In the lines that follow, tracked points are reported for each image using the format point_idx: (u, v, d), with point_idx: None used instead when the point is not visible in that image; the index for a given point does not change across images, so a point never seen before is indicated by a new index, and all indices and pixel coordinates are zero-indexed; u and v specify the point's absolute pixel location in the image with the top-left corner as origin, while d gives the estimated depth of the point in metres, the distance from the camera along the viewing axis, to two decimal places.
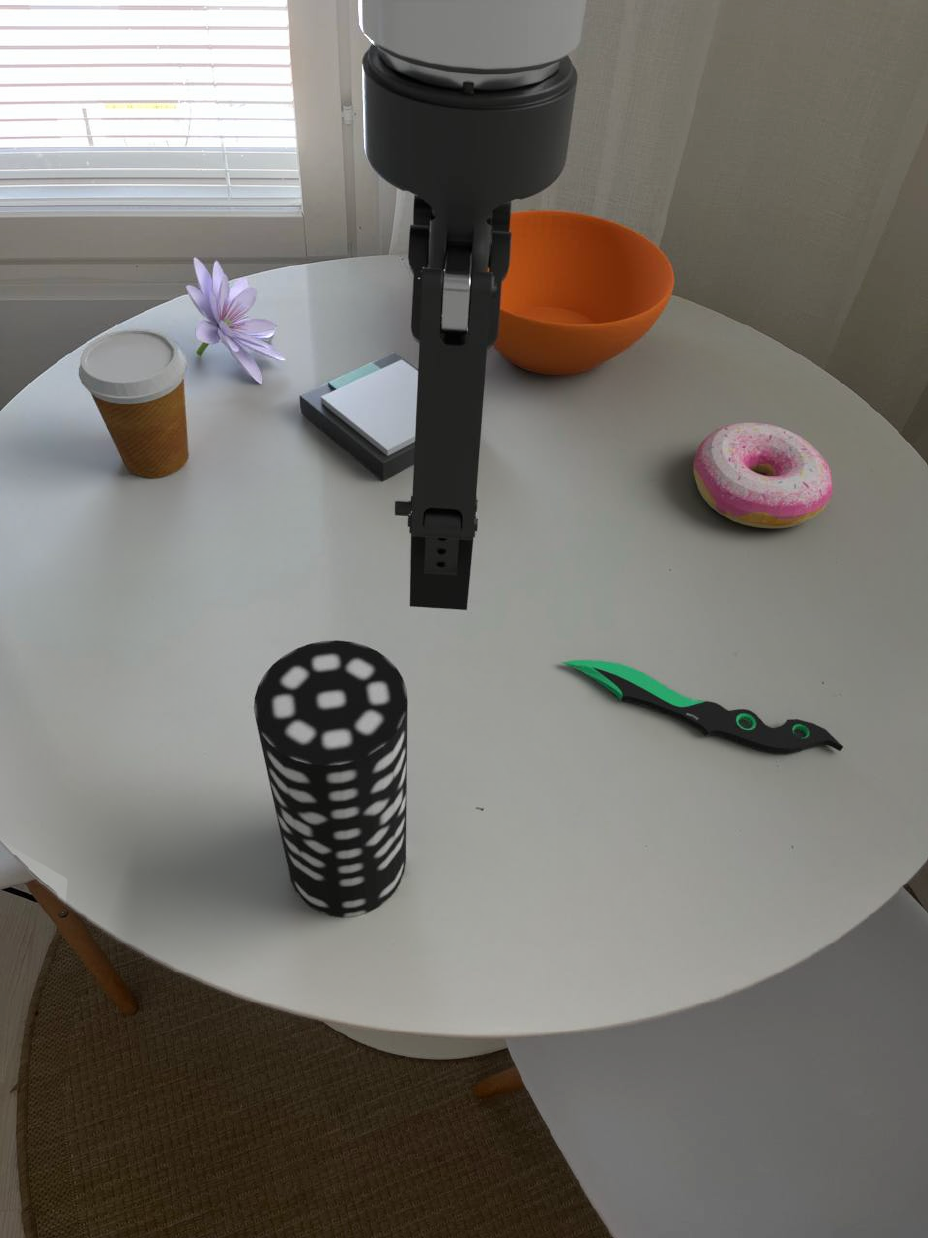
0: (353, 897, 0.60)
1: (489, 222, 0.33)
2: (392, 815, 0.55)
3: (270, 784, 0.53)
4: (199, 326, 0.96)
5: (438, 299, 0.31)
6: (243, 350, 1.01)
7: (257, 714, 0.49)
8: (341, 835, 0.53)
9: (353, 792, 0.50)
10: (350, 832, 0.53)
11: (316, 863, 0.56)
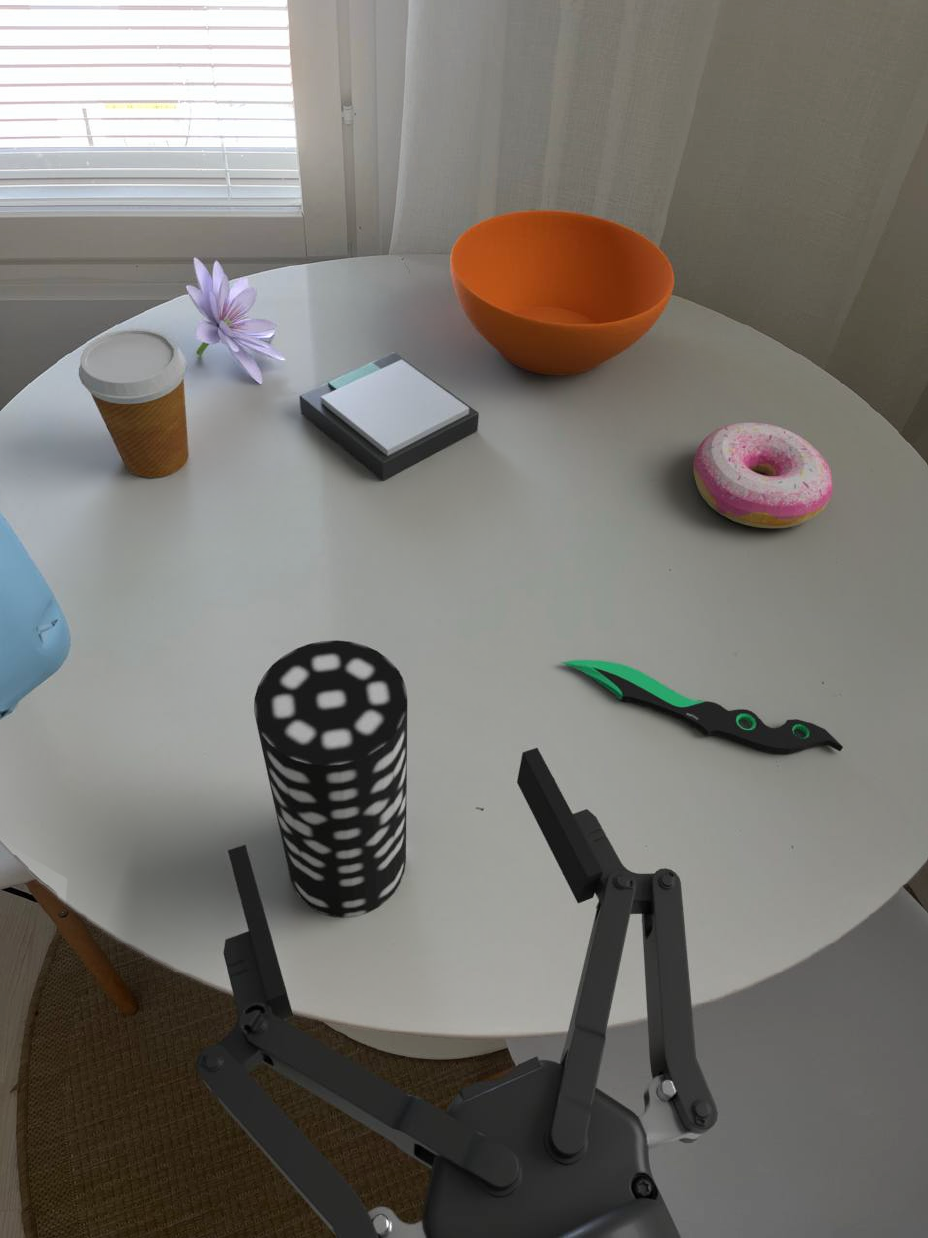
0: (353, 897, 0.60)
1: None
2: (392, 815, 0.55)
3: (270, 784, 0.53)
4: (199, 326, 0.96)
5: None
6: (243, 350, 1.01)
7: (257, 714, 0.49)
8: (341, 835, 0.53)
9: (353, 792, 0.50)
10: (350, 832, 0.53)
11: (316, 863, 0.56)
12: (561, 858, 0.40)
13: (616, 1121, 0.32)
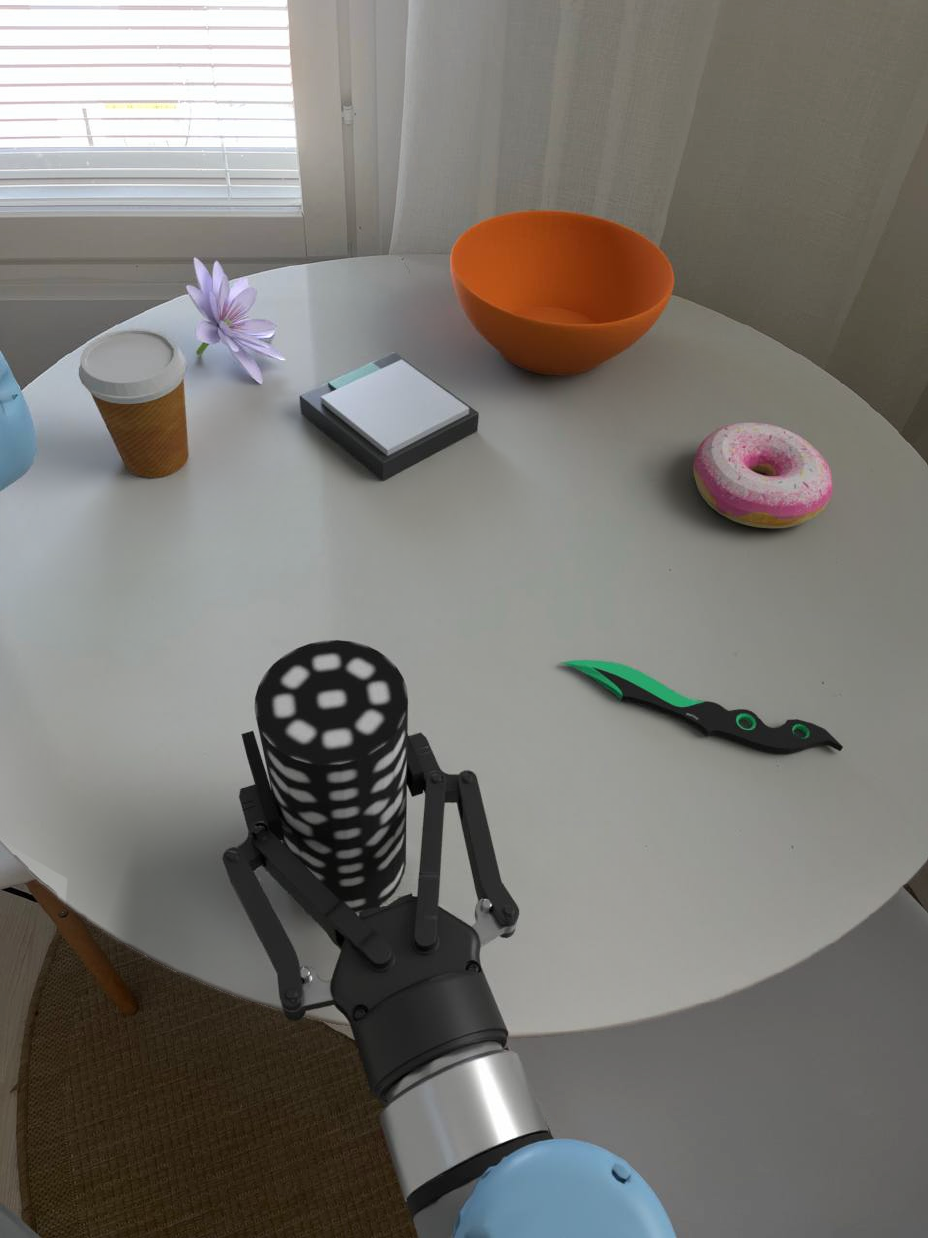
0: (353, 897, 0.60)
1: None
2: (392, 815, 0.55)
3: (270, 784, 0.53)
4: (199, 326, 0.96)
5: None
6: (243, 350, 1.01)
7: (257, 714, 0.49)
8: (341, 835, 0.53)
9: (354, 792, 0.50)
10: (350, 832, 0.53)
11: (316, 863, 0.56)
12: None
13: (457, 931, 0.50)
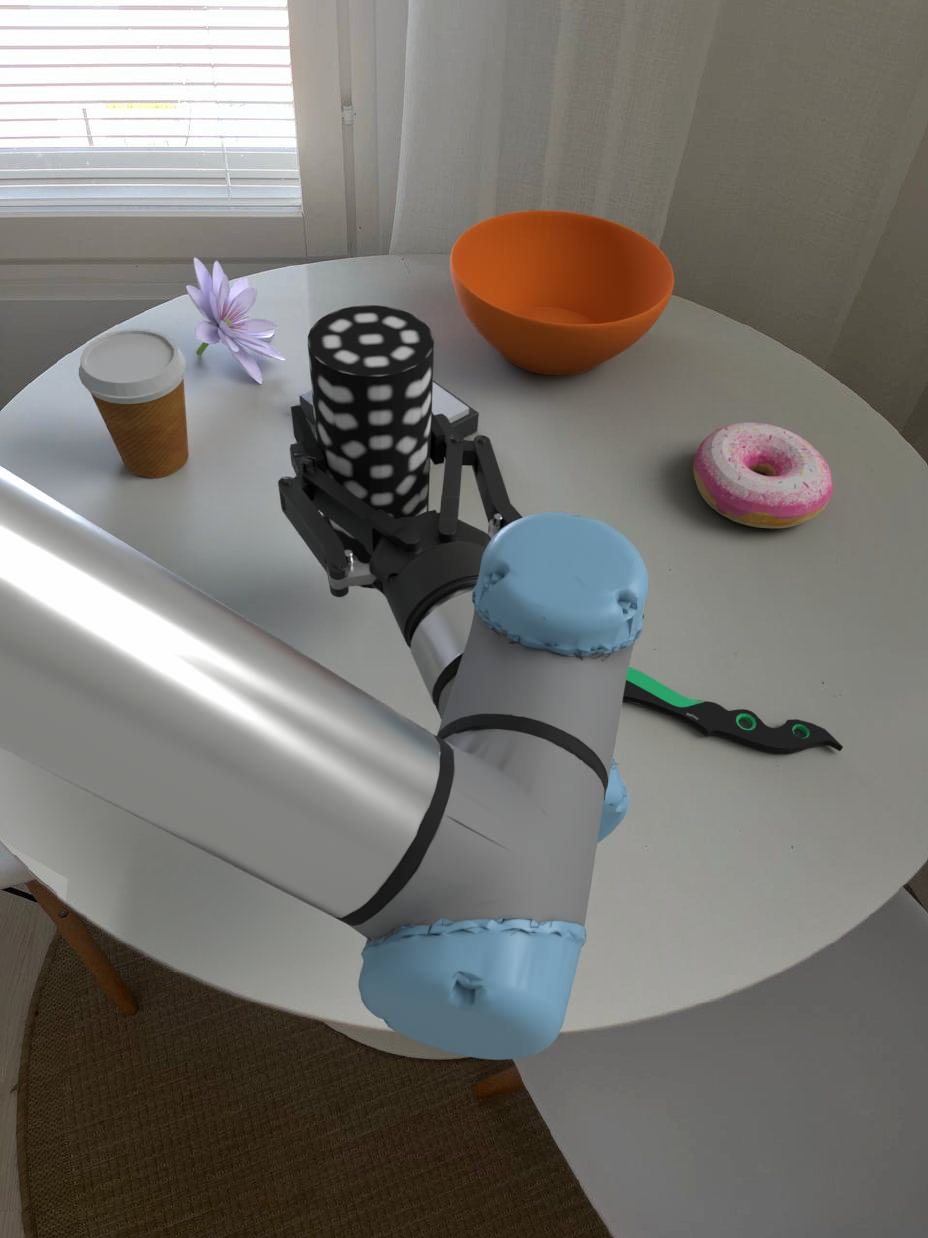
0: None
1: None
2: (419, 465, 0.65)
3: (317, 430, 0.63)
4: (199, 326, 0.96)
5: None
6: (243, 350, 1.01)
7: (310, 345, 0.59)
8: (376, 472, 0.63)
9: (388, 415, 0.60)
10: (384, 469, 0.63)
11: None
12: None
13: (473, 532, 0.60)
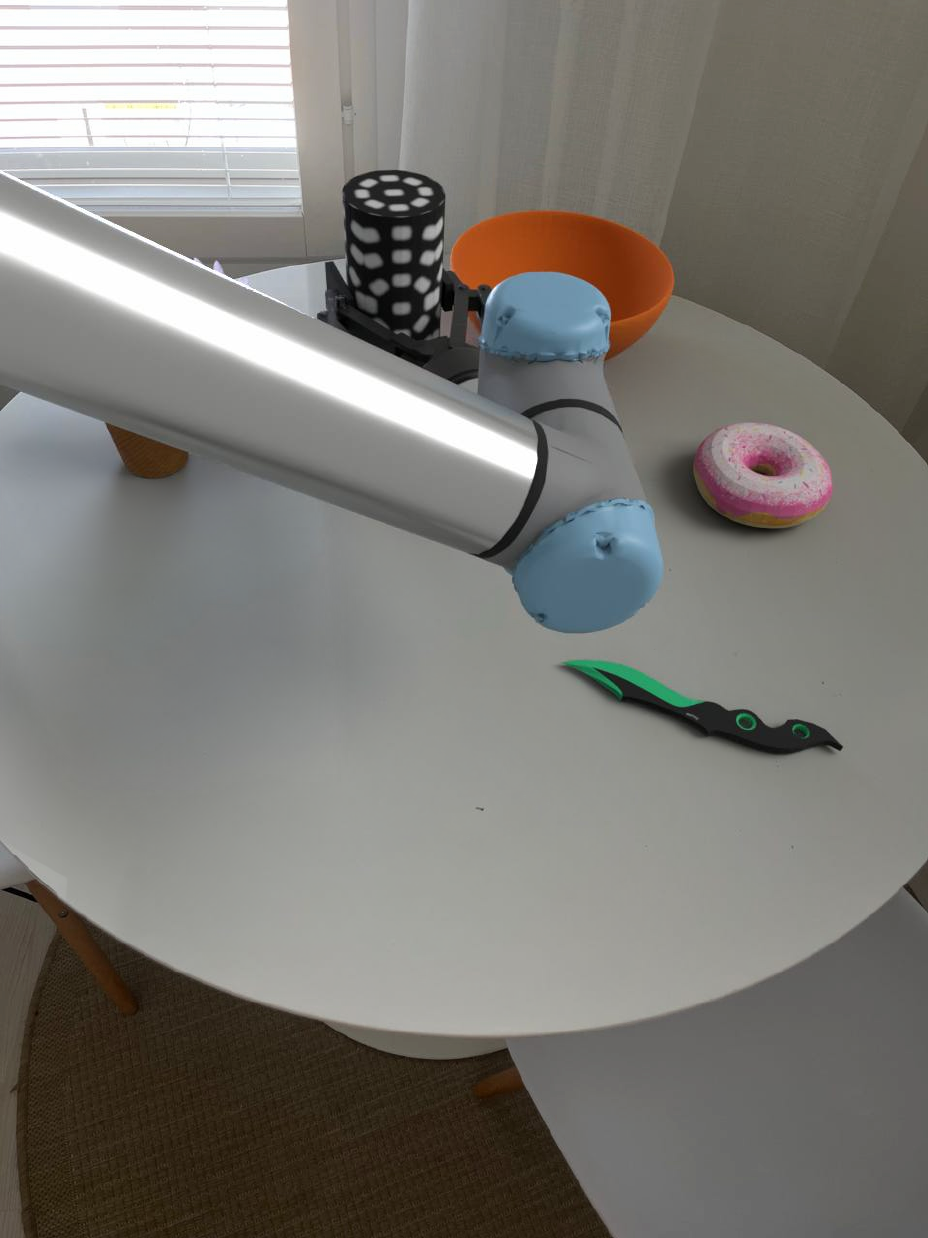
0: None
1: None
2: (432, 307, 0.78)
3: (348, 274, 0.77)
4: None
5: None
6: None
7: (344, 195, 0.72)
8: (397, 308, 0.77)
9: (408, 255, 0.73)
10: (403, 306, 0.76)
11: None
12: None
13: None
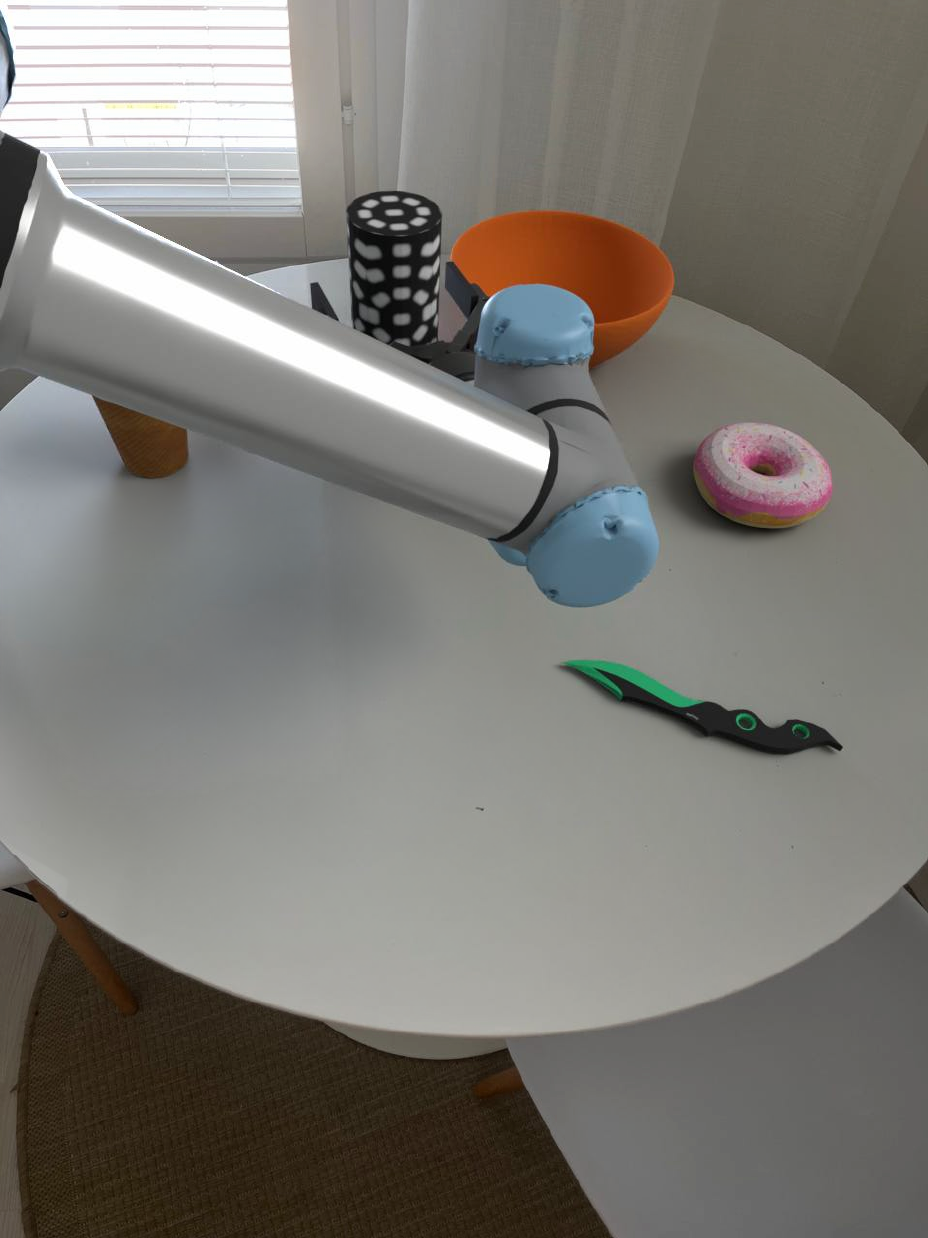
0: None
1: None
2: (430, 317, 0.84)
3: (352, 287, 0.83)
4: None
5: None
6: None
7: (349, 216, 0.78)
8: (398, 319, 0.82)
9: (408, 270, 0.79)
10: (403, 317, 0.82)
11: None
12: (462, 304, 0.87)
13: (474, 354, 0.79)
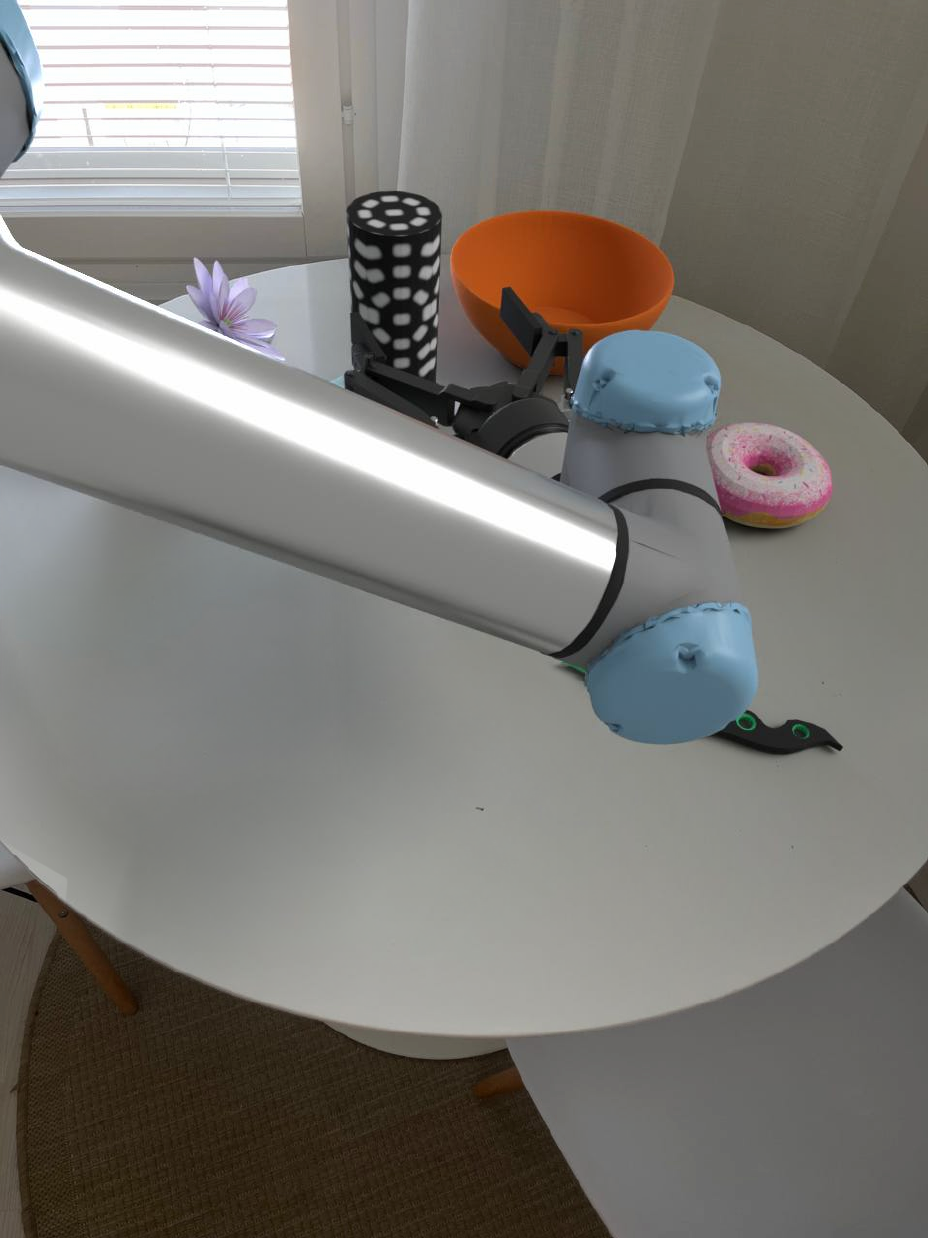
0: None
1: None
2: (430, 317, 0.84)
3: (352, 287, 0.83)
4: None
5: None
6: None
7: (348, 216, 0.78)
8: (398, 319, 0.82)
9: (408, 270, 0.79)
10: (403, 317, 0.82)
11: None
12: (522, 336, 0.76)
13: (543, 398, 0.68)
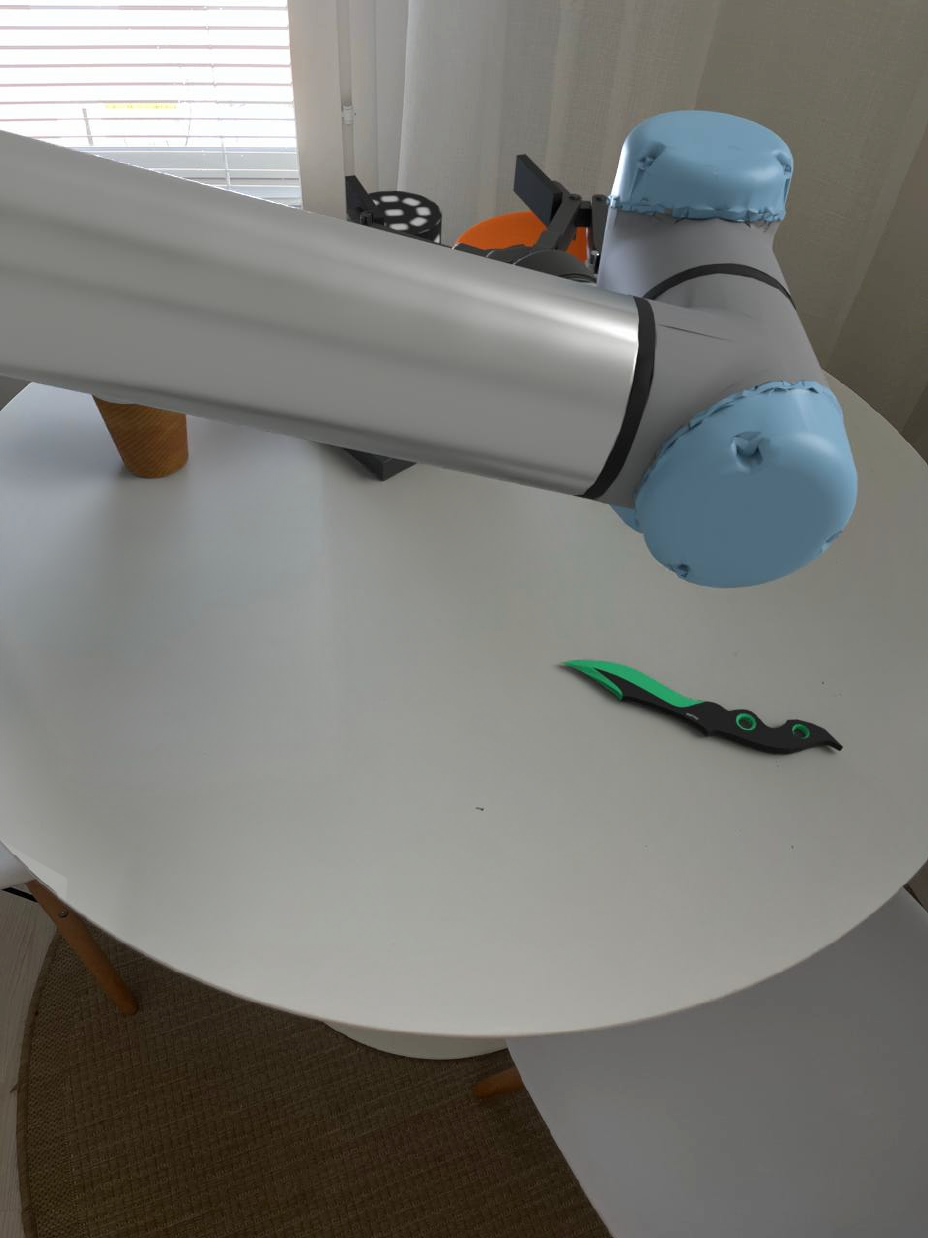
0: None
1: None
2: None
3: None
4: None
5: None
6: None
7: None
8: None
9: None
10: None
11: None
12: (539, 207, 0.68)
13: None
